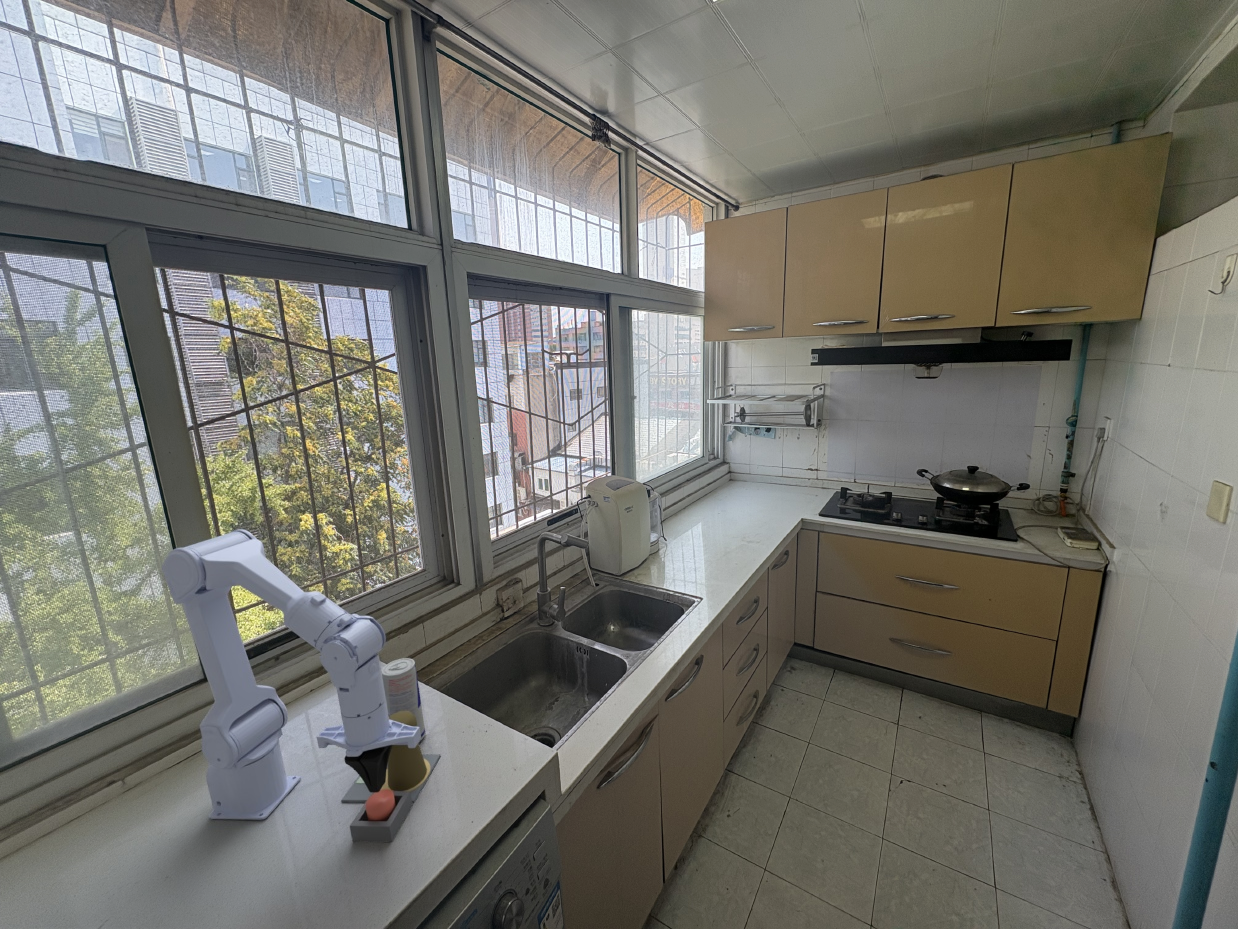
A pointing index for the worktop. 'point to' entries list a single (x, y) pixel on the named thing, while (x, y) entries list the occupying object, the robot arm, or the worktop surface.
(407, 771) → the olive knobbed peg
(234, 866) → the worktop surface
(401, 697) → the beverage can
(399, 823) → the button housing
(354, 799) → the grey kitchen scale
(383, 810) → the button
